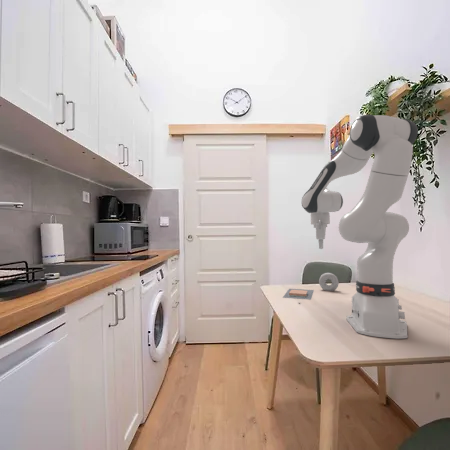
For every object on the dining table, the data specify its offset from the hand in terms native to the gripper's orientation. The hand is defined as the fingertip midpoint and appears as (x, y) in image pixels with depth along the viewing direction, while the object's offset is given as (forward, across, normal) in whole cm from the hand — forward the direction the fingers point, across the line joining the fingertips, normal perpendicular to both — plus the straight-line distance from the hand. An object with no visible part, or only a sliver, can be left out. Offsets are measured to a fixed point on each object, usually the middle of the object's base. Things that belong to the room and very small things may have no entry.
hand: (321, 248), depth 137 cm
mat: (+23, +3, +12) cm, 26 cm away
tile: (+22, +4, +11) cm, 25 cm away
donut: (+24, +16, -3) cm, 28 cm away
